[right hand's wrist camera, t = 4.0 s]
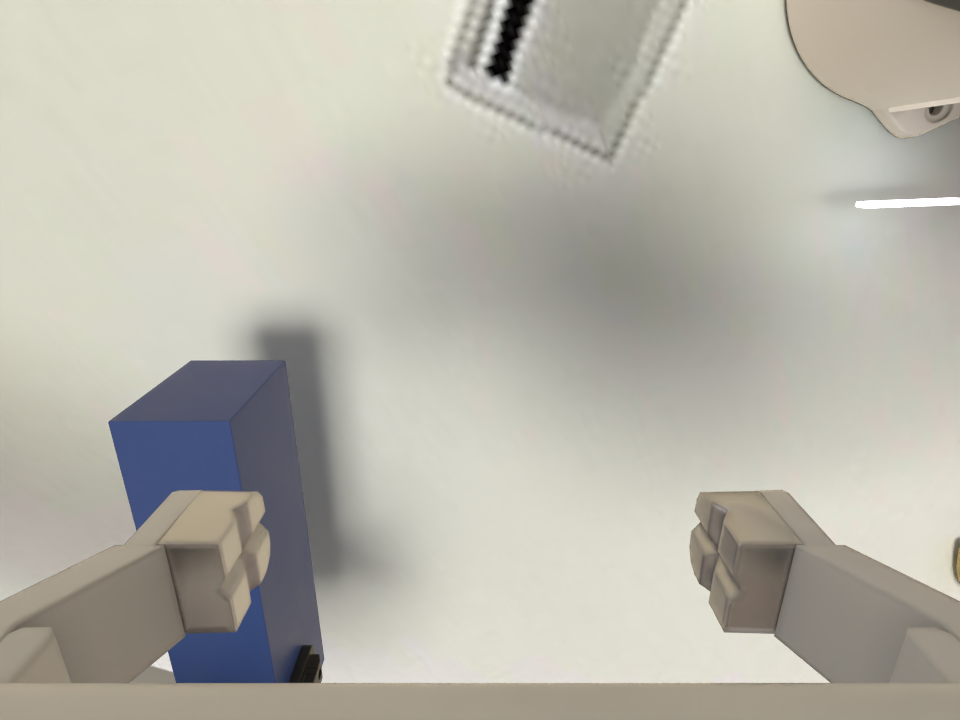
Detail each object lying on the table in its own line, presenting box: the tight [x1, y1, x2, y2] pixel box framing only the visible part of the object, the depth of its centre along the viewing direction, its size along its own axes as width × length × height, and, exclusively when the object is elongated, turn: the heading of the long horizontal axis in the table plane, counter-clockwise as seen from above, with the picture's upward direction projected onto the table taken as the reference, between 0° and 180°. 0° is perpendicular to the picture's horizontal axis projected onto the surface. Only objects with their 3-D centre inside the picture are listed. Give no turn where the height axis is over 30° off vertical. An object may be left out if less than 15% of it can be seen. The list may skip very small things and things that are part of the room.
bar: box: [109, 360, 324, 683], centre depth 33 cm, size 23×6×8 cm, turn 0°
